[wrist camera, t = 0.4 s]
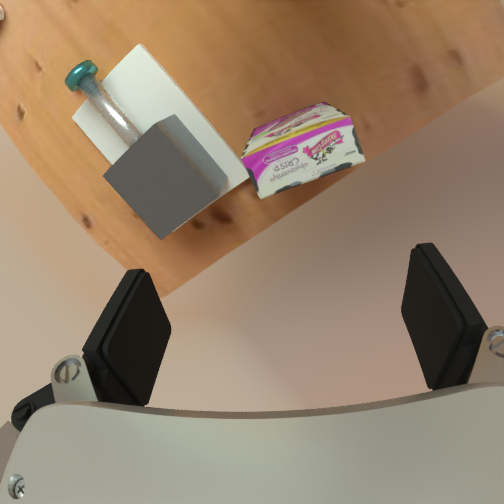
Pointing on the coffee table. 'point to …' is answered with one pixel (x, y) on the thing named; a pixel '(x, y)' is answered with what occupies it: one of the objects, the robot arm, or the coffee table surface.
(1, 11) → the white figurine
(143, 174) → the shaft housing
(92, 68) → the steel shaft
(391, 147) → the coffee table surface
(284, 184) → the candy bar box
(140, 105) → the mounting board
